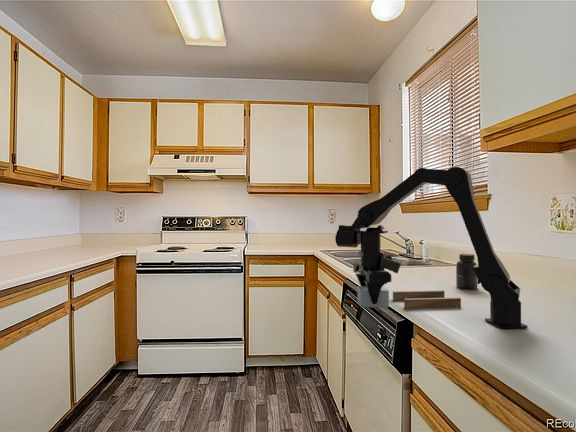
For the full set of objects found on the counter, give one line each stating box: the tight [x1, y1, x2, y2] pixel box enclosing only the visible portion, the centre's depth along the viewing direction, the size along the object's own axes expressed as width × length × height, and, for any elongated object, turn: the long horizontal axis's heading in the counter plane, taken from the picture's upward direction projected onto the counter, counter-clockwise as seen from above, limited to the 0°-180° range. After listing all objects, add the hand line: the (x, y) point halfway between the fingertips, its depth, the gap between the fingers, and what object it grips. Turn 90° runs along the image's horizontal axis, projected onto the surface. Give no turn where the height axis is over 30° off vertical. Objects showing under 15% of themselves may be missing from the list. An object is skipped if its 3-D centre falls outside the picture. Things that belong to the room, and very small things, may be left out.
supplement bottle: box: [455, 253, 479, 291], centre depth 123 cm, size 7×7×12 cm
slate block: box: [357, 285, 390, 309], centre depth 102 cm, size 6×8×5 cm
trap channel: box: [392, 289, 462, 309], centre depth 103 cm, size 10×16×2 cm, turn 93°
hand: (370, 300), depth 102 cm, fingers open, 7 cm apart
